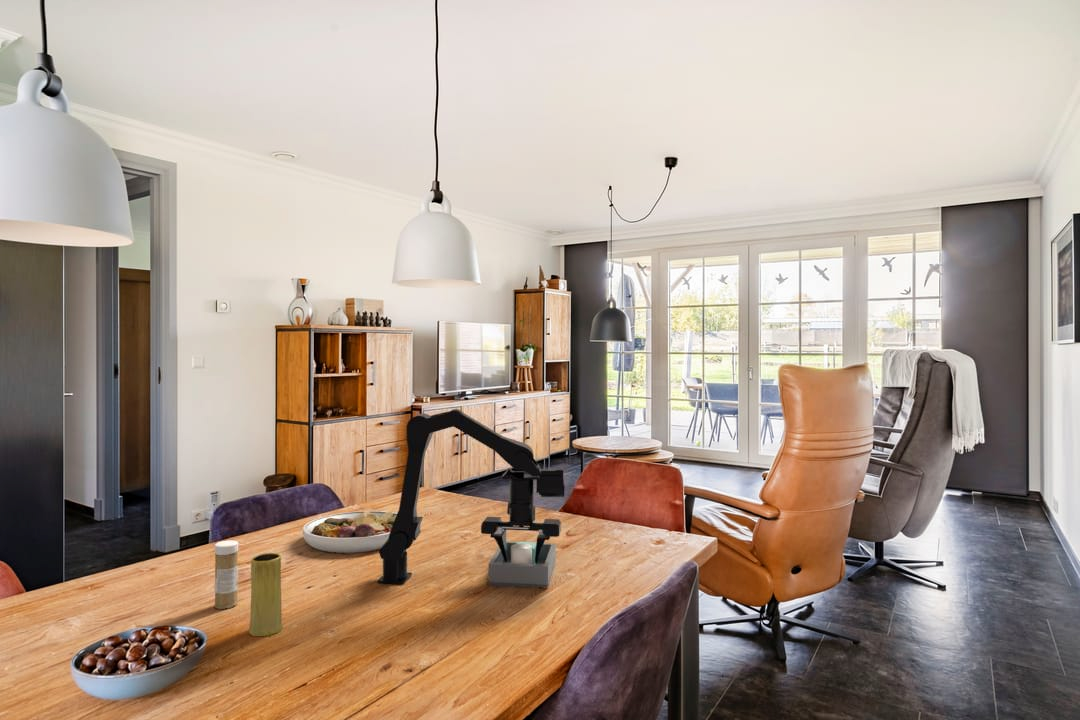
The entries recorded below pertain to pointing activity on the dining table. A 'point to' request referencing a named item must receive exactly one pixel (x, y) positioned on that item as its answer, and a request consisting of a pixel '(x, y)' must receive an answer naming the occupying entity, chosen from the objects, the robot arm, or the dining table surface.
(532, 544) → the teal cube
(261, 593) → the vase
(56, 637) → the dining table surface
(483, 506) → the dining table surface
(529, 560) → the white cylinder
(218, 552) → the spice jar
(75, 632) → the dining table surface
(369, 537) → the bowl
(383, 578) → the robot arm
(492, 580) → the tote
